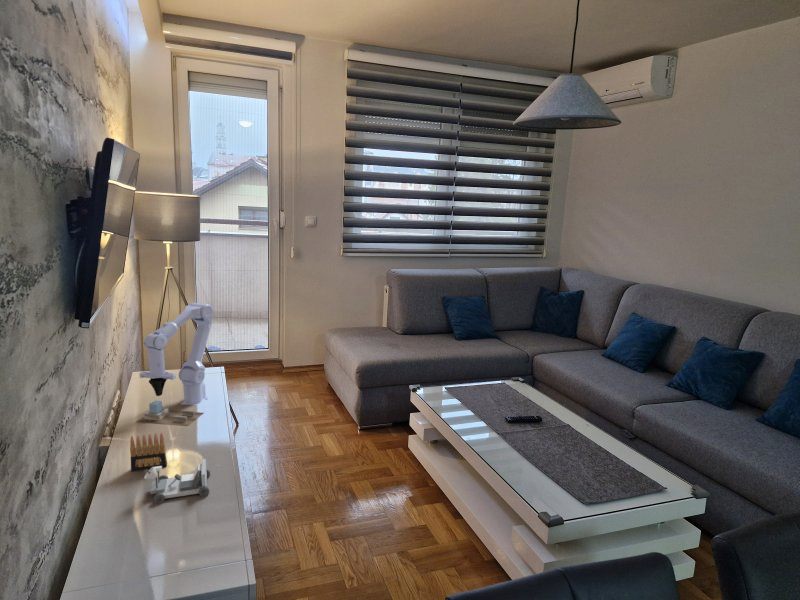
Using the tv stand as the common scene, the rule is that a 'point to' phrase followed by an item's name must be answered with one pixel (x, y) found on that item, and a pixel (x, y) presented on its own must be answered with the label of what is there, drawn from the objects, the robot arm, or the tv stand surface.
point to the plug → (155, 407)
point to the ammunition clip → (147, 453)
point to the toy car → (178, 483)
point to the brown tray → (171, 417)
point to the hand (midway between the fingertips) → (159, 395)
